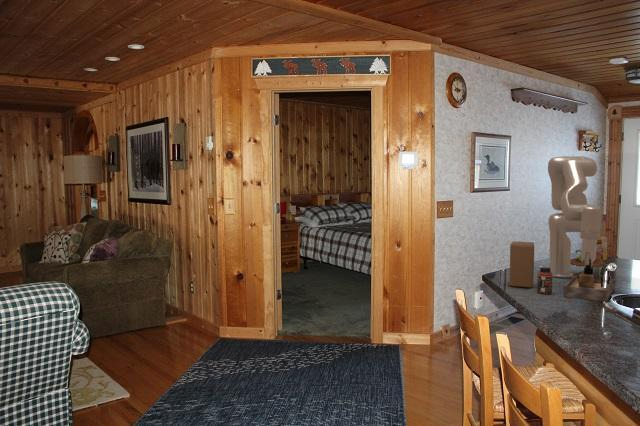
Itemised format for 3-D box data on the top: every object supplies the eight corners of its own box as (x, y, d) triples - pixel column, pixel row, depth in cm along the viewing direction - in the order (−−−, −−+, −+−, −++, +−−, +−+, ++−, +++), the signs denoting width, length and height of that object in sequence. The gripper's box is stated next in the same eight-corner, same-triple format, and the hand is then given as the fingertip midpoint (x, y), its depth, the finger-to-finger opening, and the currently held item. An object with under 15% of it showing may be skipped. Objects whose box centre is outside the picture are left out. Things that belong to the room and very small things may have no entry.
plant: (561, 266, 281) (562, 247, 280) (569, 262, 296) (570, 243, 296) (601, 270, 269) (602, 250, 268) (607, 265, 284) (608, 246, 283)
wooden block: (533, 284, 235) (534, 242, 233) (532, 288, 226) (533, 244, 224) (510, 282, 239) (511, 241, 238) (509, 286, 230) (510, 243, 228)
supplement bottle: (545, 295, 212) (546, 268, 212) (533, 292, 218) (534, 266, 217) (555, 293, 215) (555, 267, 214) (543, 290, 220) (543, 265, 220)
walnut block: (578, 289, 210) (578, 275, 209) (580, 287, 214) (580, 273, 213) (591, 290, 207) (592, 276, 206) (593, 288, 211) (594, 274, 210)
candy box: (588, 261, 298) (588, 235, 297) (592, 260, 300) (593, 235, 299) (602, 263, 290) (603, 237, 289) (607, 262, 292) (608, 236, 291)
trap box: (563, 296, 209) (563, 286, 209) (573, 284, 232) (574, 275, 232) (607, 301, 200) (607, 290, 200) (613, 288, 223) (613, 279, 223)
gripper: (582, 232, 221) (580, 272, 223) (577, 236, 209) (575, 279, 211) (602, 233, 217) (600, 274, 219) (598, 238, 205) (596, 281, 207)
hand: (588, 276), depth 215 cm, fingers closed
